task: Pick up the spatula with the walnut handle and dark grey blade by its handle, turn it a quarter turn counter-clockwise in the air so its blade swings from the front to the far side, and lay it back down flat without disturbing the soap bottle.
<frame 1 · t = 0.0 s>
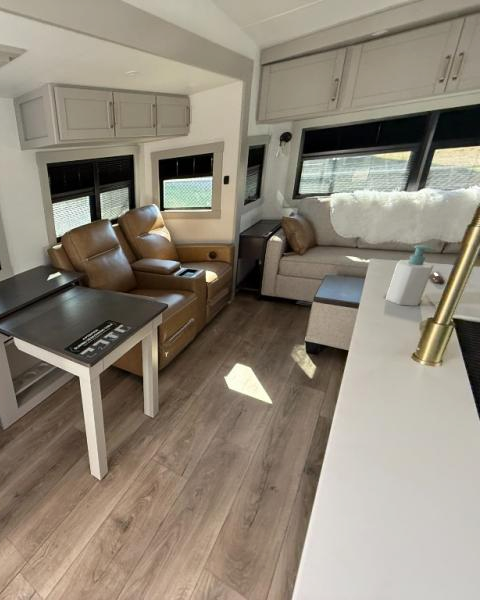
soap bottle: (401, 301, 124), on the table
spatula: (430, 275, 144), on the table
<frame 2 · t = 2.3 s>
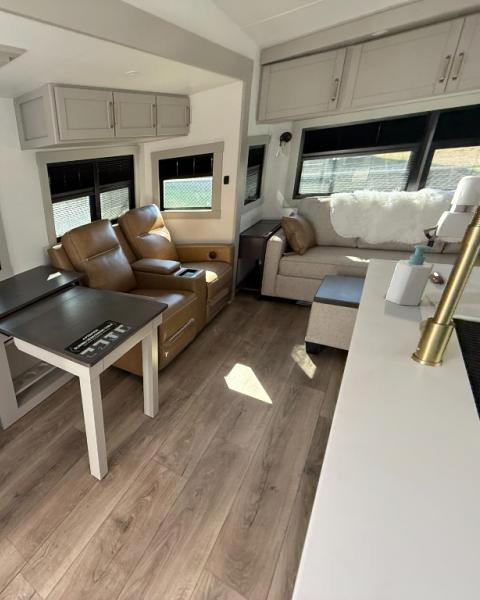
hand: (445, 250, 134), 14 cm above the table, tool pointing down, fingers open, 9 cm apart
nothing on the table moved.
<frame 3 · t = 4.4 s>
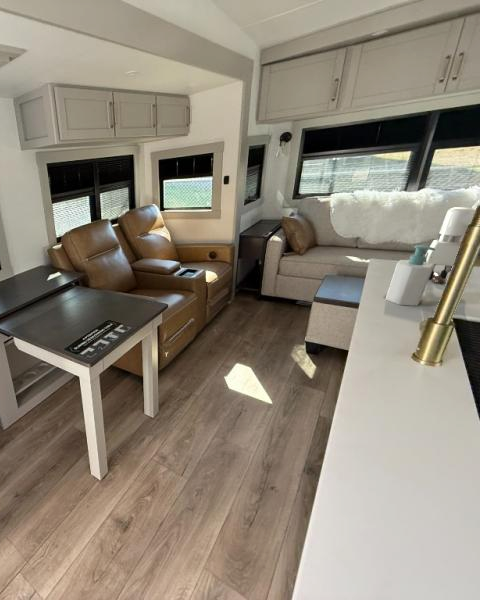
hand: (434, 279, 139), 1 cm above the table, tool pointing down, fingers closed on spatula, 3 cm apart
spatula: (430, 275, 144), on the table, touching gripper
everything else where it was.
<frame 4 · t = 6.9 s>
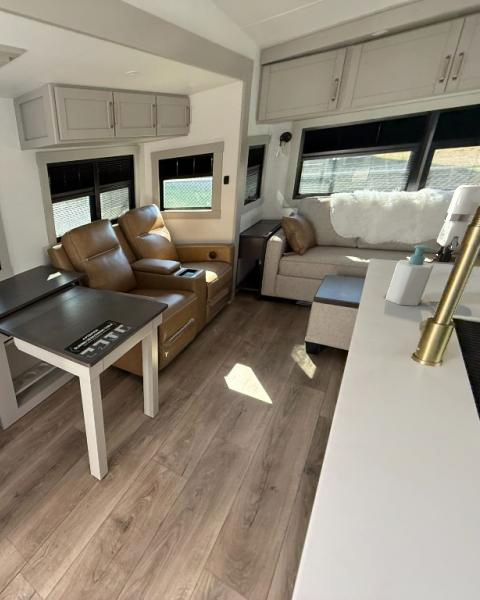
hand: (442, 260, 135), 9 cm above the table, tool pointing down, fingers closed on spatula, 3 cm apart
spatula: (418, 260, 140), point 9 cm above the table, touching gripper
everything else where it was.
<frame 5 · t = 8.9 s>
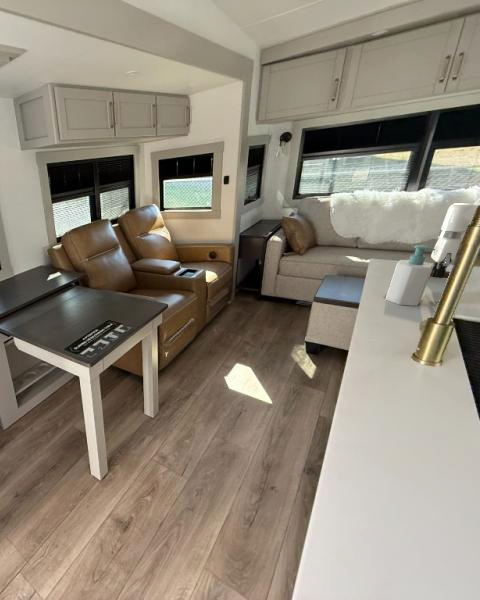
hand: (436, 275, 138), 2 cm above the table, tool pointing down, fingers closed on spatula, 3 cm apart
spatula: (412, 275, 142), point 2 cm above the table, touching gripper
everything else where it was.
when the fingers open (1 cm above the table, at t = 9.7 s): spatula stays where it is, on the table.
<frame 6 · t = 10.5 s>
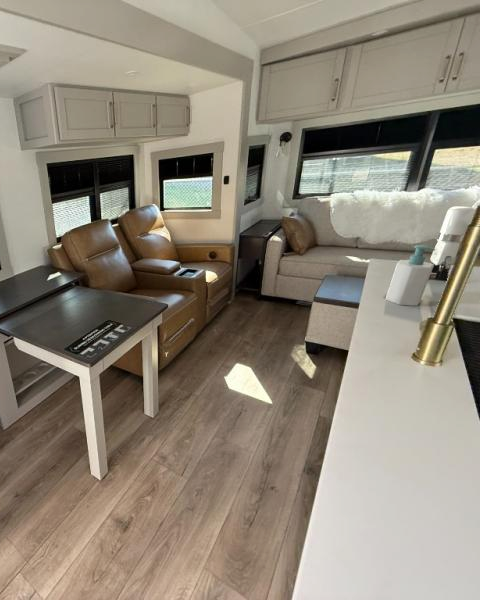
hand: (436, 276, 138), 2 cm above the table, tool pointing down, fingers open, 9 cm apart
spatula: (411, 278, 143), on the table
everything else where it was.
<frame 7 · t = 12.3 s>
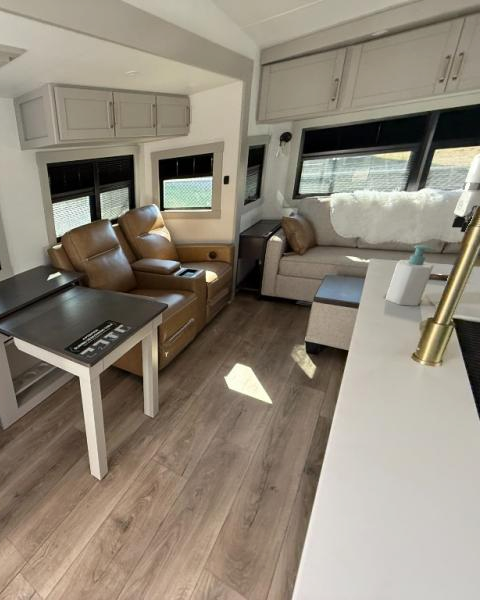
hand: (461, 229, 133), 21 cm above the table, tool pointing down, fingers open, 9 cm apart
nothing on the table moved.
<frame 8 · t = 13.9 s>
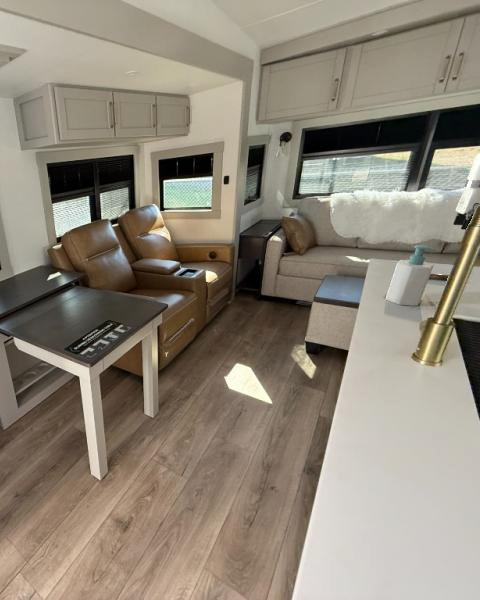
hand: (462, 227, 133), 22 cm above the table, tool pointing down, fingers open, 9 cm apart
nothing on the table moved.
at the end: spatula inside the target area (0.4 cm from its centre), on the table; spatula tilted 0°; soap bottle moved 0.2 cm from its start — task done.
